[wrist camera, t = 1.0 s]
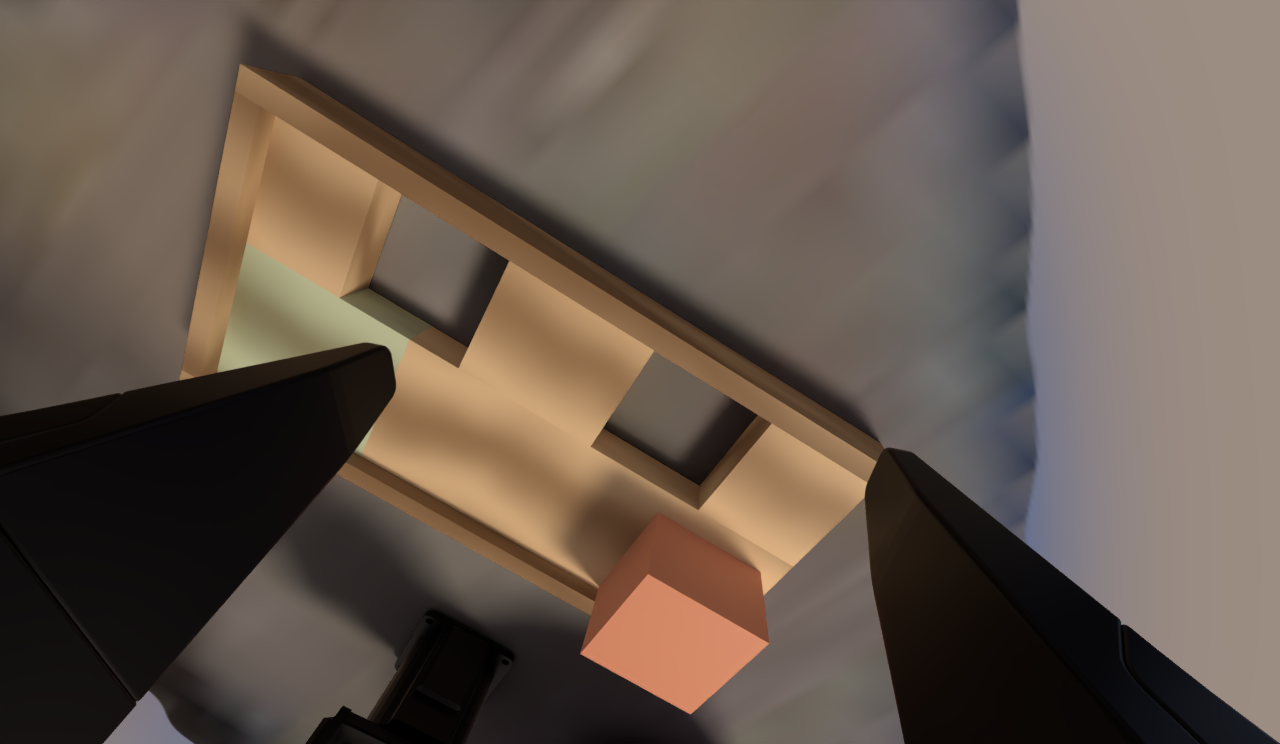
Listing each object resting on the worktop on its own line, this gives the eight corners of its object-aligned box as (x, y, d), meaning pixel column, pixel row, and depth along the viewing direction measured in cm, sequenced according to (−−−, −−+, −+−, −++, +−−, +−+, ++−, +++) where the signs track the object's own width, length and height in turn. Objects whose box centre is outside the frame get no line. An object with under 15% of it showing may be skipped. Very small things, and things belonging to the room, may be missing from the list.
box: (697, 629, 29) (696, 674, 26) (230, 365, 26) (178, 385, 24) (880, 443, 23) (902, 477, 20) (299, 77, 20) (240, 63, 18)
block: (693, 639, 27) (690, 714, 23) (598, 586, 26) (580, 653, 22) (760, 572, 24) (769, 643, 21) (658, 512, 24) (648, 574, 20)
